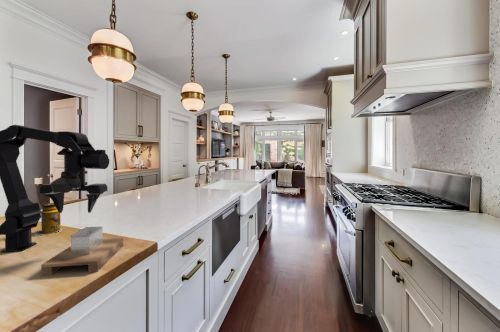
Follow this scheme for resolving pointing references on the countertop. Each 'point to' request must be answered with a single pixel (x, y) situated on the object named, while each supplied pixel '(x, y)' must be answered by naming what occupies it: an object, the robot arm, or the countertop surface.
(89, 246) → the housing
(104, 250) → the stand
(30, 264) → the countertop surface
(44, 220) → the condiment
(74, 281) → the countertop surface
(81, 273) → the countertop surface
